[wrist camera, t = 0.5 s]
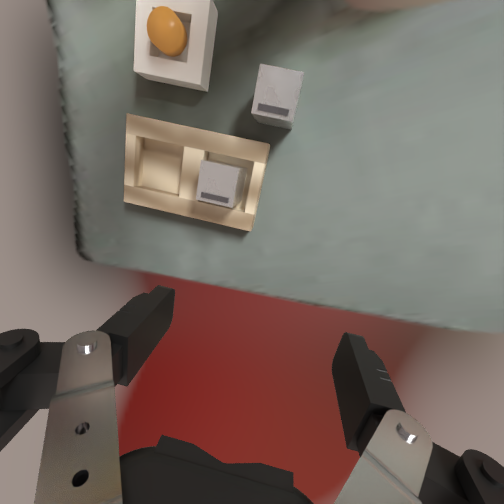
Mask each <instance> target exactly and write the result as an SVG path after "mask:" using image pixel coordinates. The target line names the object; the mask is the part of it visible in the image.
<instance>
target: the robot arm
mask: <svg viewBox="0 0 504 504" xmlns="http://www.w3.org/2000/svg"><path fill="white" fill-rule="evenodd" d="M174 297H175V290H174V289H172V288H168V287H164V286H160V285H158V286H157V287H155V288H154V290H152V291H151V292H150V293H149V294H147V293H143V294H140V295H138V296H136V297H133V298H132V299H131V300H130V301H129V302H128V303H127V304H126V305H124V306H123V307H122V308H121V309H120V311H118V312H116V313H115V314H114V315H113V316H112V317H111V318H110V319H109V320H107V321H106V322H105V323H104V324H103V325H102V326H101V327H99V328H98V329H97V330H96V331H86V332H82V333H79V334H77V335H74V336H73V337H71V338H70V339H68V340H67V341H66V342H40V340H39V335H38V333H37V332H36V331H34V330H30V329H15V330H10V331H7V332H3V333H1V334H0V451H1V450H2V449H3V448H4V447H5V446H6V445H7V444H8V443H9V442H10V441H11V440H12V438H13V437H14V436H15V435H16V434H17V433H18V432H19V431H20V430H21V429H22V428H23V426H24V425H25V424H26V423H27V422H28V421H29V420H30V419H31V418H32V417H33V416H34V415H35V413H36V412H37V411H38V410H39V409H49V413H48V420H47V426H46V432H45V438H44V444H43V450H42V457H41V463H40V469H39V476H38V482H37V489H36V494H35V501H34V504H313V502H312V501H311V500H310V499H309V498H308V497H307V496H306V495H304V494H303V493H302V492H301V491H299V490H298V489H297V488H295V487H294V486H293V472H290V471H286V470H283V469H279V468H275V467H272V466H269V465H265V464H262V463H235V464H226V463H222V462H221V461H219V460H218V459H216V458H214V457H213V456H211V455H210V454H208V453H207V452H205V451H204V450H202V449H200V448H199V447H197V446H196V445H194V444H192V443H188V442H185V441H182V440H178V439H175V438H171V437H168V436H164V435H162V436H161V437H160V440H159V442H158V444H157V446H156V447H155V446H153V447H145V448H140V449H137V450H133V451H131V452H129V453H126V454H124V455H122V456H120V457H119V446H118V432H117V417H116V403H115V388H114V387H115V386H116V385H117V384H120V385H124V386H128V385H129V383H130V382H131V380H132V379H133V378H134V376H135V375H136V374H137V372H138V371H139V369H140V368H141V367H142V365H143V364H144V362H145V361H146V360H147V358H148V357H149V355H150V354H151V353H152V351H153V350H154V348H155V347H156V345H157V344H158V343H159V341H160V340H161V338H162V337H163V336H164V334H165V333H166V332H167V330H168V329H169V327H170V324H171V321H172V318H173V308H174ZM332 375H333V379H334V385H335V390H336V395H337V400H338V405H339V409H340V415H341V420H342V425H343V431H344V435H345V441H346V446H347V448H348V449H351V450H355V451H358V452H359V455H360V459H359V461H358V463H357V464H356V466H355V468H354V470H353V471H352V473H351V475H350V477H349V478H348V480H347V482H346V484H345V485H344V487H343V489H342V491H341V492H340V494H339V496H338V498H337V500H336V501H335V503H334V504H504V467H503V466H501V465H500V464H499V463H498V462H497V461H495V460H494V459H492V458H491V457H489V456H488V455H486V454H484V453H482V452H479V451H477V450H472V449H470V450H466V451H465V452H464V453H463V455H462V456H461V457H459V456H457V455H455V454H454V453H451V452H450V451H448V450H446V449H444V448H442V447H441V446H439V445H437V444H435V443H433V442H432V440H431V438H430V435H429V434H428V432H427V431H426V430H425V428H424V427H423V426H422V425H421V424H420V423H419V422H418V421H417V420H416V419H415V418H413V417H412V416H411V415H409V414H407V413H406V412H405V409H404V407H403V405H402V403H401V401H400V398H399V396H398V394H397V392H396V390H395V388H394V385H393V383H392V382H391V379H390V377H389V374H388V373H387V370H386V368H385V366H384V363H383V361H382V360H381V359H380V358H379V357H378V355H377V354H376V353H375V352H374V351H372V350H369V349H368V347H367V344H366V342H365V339H364V338H363V337H362V336H359V335H355V334H350V333H347V332H346V333H344V334H343V336H342V339H341V341H340V343H339V346H338V348H337V351H336V353H335V356H334V359H333V363H332Z"/></svg>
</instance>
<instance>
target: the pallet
mask: <svg viewBox="0 0 504 504" xmlns="http://www.w3.org/2000/svg"><path fill="white" fill-rule="evenodd" d="M269 150H270V144H268V143H263V142H258V141H254V140H249V139H244V138H240V137H235V136H230V135H226V134H221V133H216V132H212V131H207V130H202V129H198V128H193V127H188V126H184V125H179V124H174V123H170V122H165V121H160V120H156V119H151V118H146V117H142V116H137V115H132V114H128V113H127V118H126V148H125V179H124V202H128V203H132V204H136V205H141V206H145V207H149V208H153V209H158V210H162V211H166V212H170V213H175V214H179V215H183V216H187V217H192V218H196V219H200V220H204V221H209V222H213V223H217V224H221V225H226V226H230V227H234V228H238V229H242V230H247V231H251V230H252V228H253V225H254V221H255V216H256V211H257V207H258V202H259V197H260V192H261V188H262V183H263V178H264V174H265V169H266V164H267V160H268V155H269ZM201 160H208V161H217V162H222V163H226V164H231V165H235V166H240V167H244V168H248V169H247V174H246V179H245V185H244V190H243V195H242V200H241V202H240V203H238V204H237V205H236V206H234V207H233V208H231V207H227V206H223V205H218V204H214V203H210V202H205V201H201V200H197V199H196V194H197V186H198V179H199V171H200V163H201Z"/></svg>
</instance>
